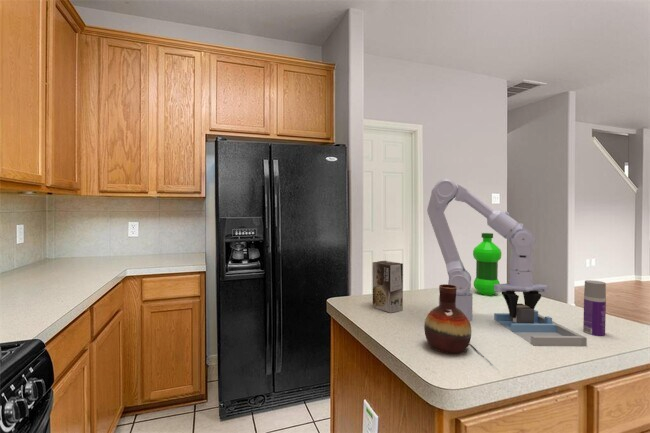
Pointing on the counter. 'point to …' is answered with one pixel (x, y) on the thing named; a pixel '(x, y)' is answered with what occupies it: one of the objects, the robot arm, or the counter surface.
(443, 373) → the counter surface
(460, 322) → the vase
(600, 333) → the container
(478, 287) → the plastic bottle
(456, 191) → the robot arm
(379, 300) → the coffee box
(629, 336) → the counter surface
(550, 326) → the board
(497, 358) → the counter surface
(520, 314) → the dark striped block
